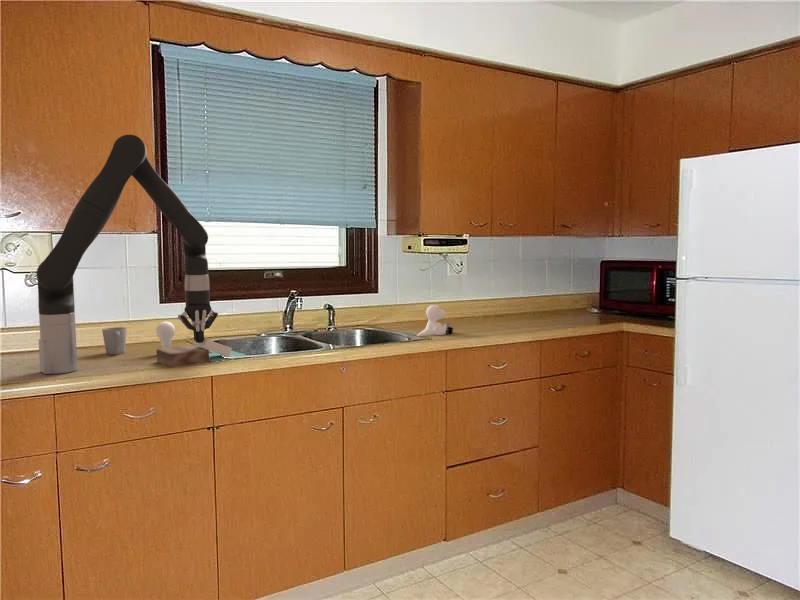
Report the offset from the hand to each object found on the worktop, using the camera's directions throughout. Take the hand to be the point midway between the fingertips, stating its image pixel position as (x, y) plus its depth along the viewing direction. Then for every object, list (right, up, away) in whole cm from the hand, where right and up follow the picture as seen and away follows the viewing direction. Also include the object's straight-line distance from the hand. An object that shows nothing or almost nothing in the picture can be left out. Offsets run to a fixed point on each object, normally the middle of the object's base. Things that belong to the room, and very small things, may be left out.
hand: (199, 342), depth 203 cm
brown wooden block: (-4, -6, -3) cm, 8 cm away
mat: (+6, -5, +6) cm, 10 cm away
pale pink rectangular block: (+4, -3, +3) cm, 6 cm away
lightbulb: (-15, -5, +13) cm, 20 cm away
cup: (-32, -5, +12) cm, 35 cm away
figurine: (+79, -1, +57) cm, 97 cm away
